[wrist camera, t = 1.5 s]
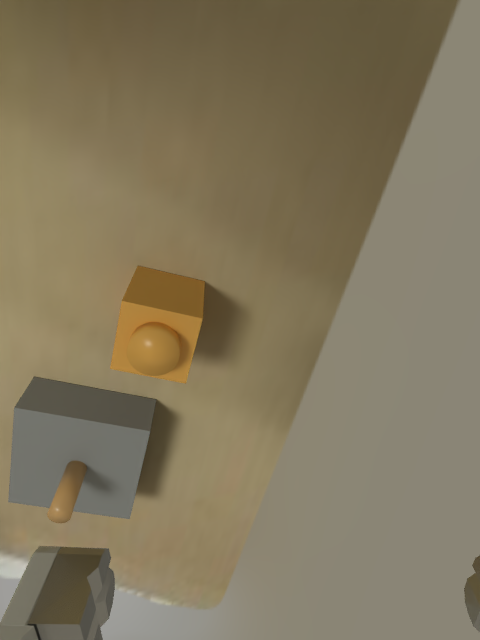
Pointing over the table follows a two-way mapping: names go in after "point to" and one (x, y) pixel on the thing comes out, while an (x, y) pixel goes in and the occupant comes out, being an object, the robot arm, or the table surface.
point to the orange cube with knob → (159, 325)
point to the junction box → (78, 449)
